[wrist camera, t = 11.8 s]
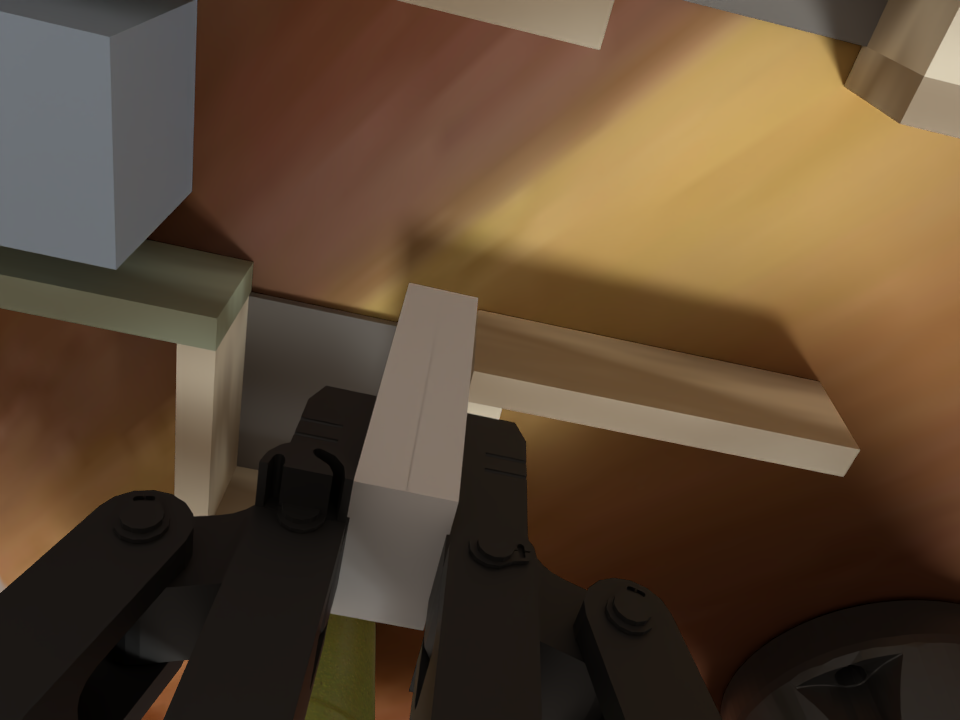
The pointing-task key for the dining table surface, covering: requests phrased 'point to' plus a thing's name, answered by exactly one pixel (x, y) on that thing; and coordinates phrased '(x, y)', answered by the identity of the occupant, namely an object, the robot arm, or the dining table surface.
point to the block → (94, 123)
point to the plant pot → (345, 672)
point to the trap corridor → (498, 338)
